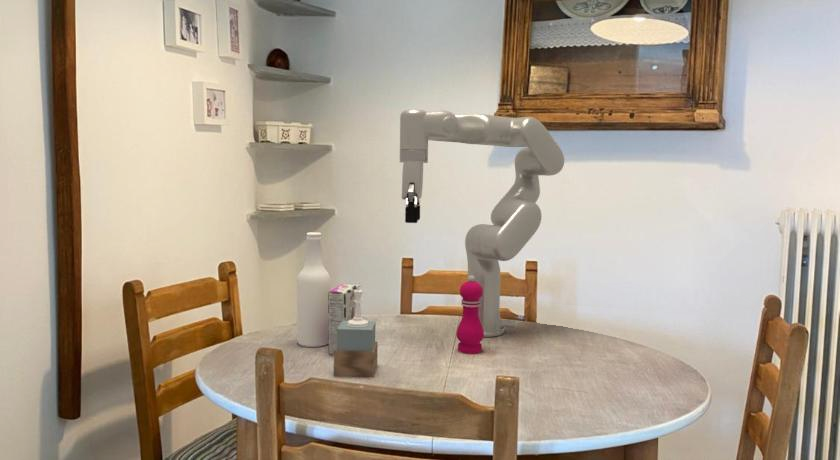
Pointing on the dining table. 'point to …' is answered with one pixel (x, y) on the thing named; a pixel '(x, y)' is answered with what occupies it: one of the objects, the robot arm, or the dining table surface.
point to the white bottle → (313, 296)
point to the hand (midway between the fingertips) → (412, 221)
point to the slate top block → (355, 337)
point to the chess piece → (358, 310)
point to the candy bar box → (340, 310)
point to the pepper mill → (470, 318)
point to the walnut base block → (355, 363)
